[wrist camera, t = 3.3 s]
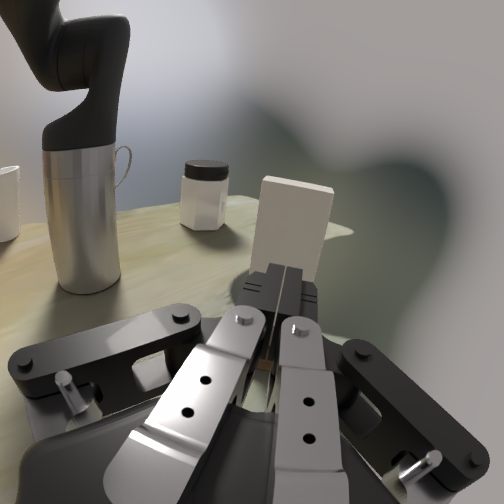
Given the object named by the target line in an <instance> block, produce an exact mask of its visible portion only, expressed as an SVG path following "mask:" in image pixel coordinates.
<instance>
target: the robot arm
mask: <svg viewBox="0 0 504 504" xmlns="http://www.w3.org/2000/svg"><path fill="white" fill-rule="evenodd" d="M59 1H60V0H0V16H1V17H2V19H3V21H4V23H5V24H6V25H7V27H8V29H9V30H10V32H11V34H12V35H13V37H14V38H15V40H16V42H17V44H18V46H19V48H20V50H21V52H22V53H23V55H24V57H25V59H26V61H27V63H28V65H29V66H30V68H31V70H32V72H33V74H34V75H35V77H36V78H37V80H38V81H39V83H40V84H41V85H42V86H43V87H44V88H46V89H47V90H49V91H55V92H61V91H68V90H77V89H86V88H89V92H88V94H87V96H86V98H85V99H84V101H83V102H82V103H81V104H80V105H78V106H77V107H76V108H75V109H73V110H72V111H71V112H69V113H68V114H67V115H64V116H63V117H61V118H59V119H57V120H55V121H53V122H51V123H50V124H48V125H47V126H46V127H45V128H44V131H43V135H42V149H43V151H42V162H43V180H44V194H45V204H46V214H47V221H48V228H49V235H50V241H51V247H52V252H53V258H54V263H55V267H56V272H57V276H58V280H59V284H60V286H61V287H62V288H63V289H64V290H66V291H68V292H70V293H75V294H90V293H95V292H99V291H102V290H104V289H106V288H108V287H110V286H111V285H113V284H114V283H115V282H116V281H117V280H118V278H119V276H120V263H119V253H118V240H117V226H116V207H115V141H116V124H117V113H118V103H119V94H120V88H121V82H122V77H123V71H124V67H125V63H126V58H127V53H128V48H129V41H130V25H129V21H128V20H127V18H126V17H125V16H124V15H121V14H110V15H101V16H92V17H85V18H79V19H74V20H67V19H65V18H63V16H62V15H61V12H60V10H59ZM284 270H285V266H284V265H279V264H274V263H269V265H268V268H267V271H266V273H262V272H257V271H255V272H253V273H252V274H250V275H249V276H248V277H247V280H246V282H245V284H244V287H243V289H242V291H241V293H240V296H239V298H238V300H237V302H236V305H235V306H234V307H231V308H229V309H228V310H227V311H226V312H225V314H224V316H223V317H218V318H201V313H200V311H199V310H198V309H197V308H195V307H194V306H191V305H188V304H182V303H178V304H172V305H169V306H165V307H162V308H159V309H156V310H152V311H149V312H146V313H143V314H139V315H136V316H133V317H129V318H126V319H123V320H119V321H116V322H113V323H109V324H106V325H103V326H99V327H96V328H92V329H89V330H85V331H82V332H78V333H75V334H71V335H68V336H64V337H60V338H57V339H53V340H50V341H46V342H42V343H39V344H35V345H31V346H27V347H24V348H21V349H19V350H17V351H16V352H14V353H13V354H12V356H11V357H10V359H9V361H8V371H9V373H10V375H11V377H12V378H13V380H14V381H15V383H16V385H17V386H18V388H19V391H20V392H21V394H22V395H23V397H24V399H25V404H26V409H27V413H28V418H29V422H30V426H31V430H32V434H33V438H34V442H35V443H34V444H33V445H32V446H31V447H29V449H28V450H27V451H26V452H25V454H24V455H23V457H22V460H21V462H20V467H19V485H18V493H17V499H16V503H15V504H449V502H450V501H451V500H452V499H453V497H454V496H455V495H456V494H457V493H458V492H460V491H461V490H463V489H465V488H466V487H468V486H469V485H471V484H472V483H474V482H475V481H476V480H478V479H480V478H481V477H482V476H484V475H485V473H486V472H487V470H488V468H489V464H490V458H489V454H488V452H487V450H486V448H485V447H484V446H483V445H482V444H481V443H480V442H479V441H478V440H477V439H476V438H474V437H473V436H472V435H471V434H470V433H469V432H468V431H467V430H466V429H465V428H464V427H463V426H462V425H460V424H459V423H458V422H457V421H456V420H455V419H454V418H453V417H452V416H451V415H450V414H449V413H447V411H445V410H444V409H443V408H442V407H441V406H440V405H439V404H438V403H437V402H436V401H434V400H433V399H432V398H431V397H430V396H429V395H428V394H427V393H426V392H424V391H423V390H422V389H421V388H420V387H419V386H418V385H417V384H416V383H415V382H414V381H413V380H411V379H410V378H409V377H408V376H407V375H406V374H405V373H404V372H403V371H401V370H400V369H399V368H398V367H397V366H396V365H395V364H394V363H393V362H392V361H390V360H389V359H388V358H387V357H386V356H385V355H384V354H383V353H382V352H380V351H379V350H378V349H377V348H376V347H375V346H373V345H372V344H370V343H369V342H367V341H364V340H360V339H351V340H348V341H346V342H345V343H344V344H343V346H341V345H339V344H336V343H334V342H332V341H330V340H328V339H326V338H325V337H324V336H323V335H322V332H321V328H320V327H319V325H318V324H317V288H316V287H315V285H314V284H313V282H309V281H304V280H302V275H303V269H300V268H294V267H289V266H287V268H286V273H285V278H284V283H283V287H282V292H281V297H280V302H279V307H278V312H277V316H276V321H275V326H274V331H273V335H272V340H271V344H270V349H269V354H268V358H267V360H269V361H272V365H271V370H270V373H269V377H268V386H267V395H266V404H265V412H259V413H256V412H250V411H248V410H246V409H243V408H242V406H243V403H244V401H245V398H246V396H247V393H248V391H249V388H250V385H251V383H252V380H253V378H254V375H255V370H256V369H257V367H258V365H259V361H260V359H263V360H265V359H266V355H267V350H268V346H269V341H270V337H271V332H272V328H273V323H274V319H275V314H276V309H277V305H278V300H279V295H280V290H281V285H282V280H283V275H284ZM162 350H164V354H161V355H159V356H156V357H153V358H151V359H148V360H145V361H142V362H139V363H137V364H134V362H135V361H136V360H138V359H140V358H143V357H145V356H148V355H151V354H154V353H156V352H159V351H162ZM133 364H134V365H133ZM361 392H362V393H363V394H364V395H365V396H366V397H367V398H368V399H369V400H370V401H371V402H372V403H373V404H374V405H375V406H376V407H377V408H378V409H379V411H380V412H381V415H382V417H381V416H380V415H379V414H378V413H377V412H376V411H375V410H374V409H373V408H372V407H371V406H370V405H369V404H368V403H367V402H366V401H365V400H364V399H363V398H362V397H361V396H360V394H361ZM161 394H163V396H162V397H160V398H155V399H152V400H149V399H151V398H154V397H156V396H159V395H161ZM146 400H148V401H146ZM144 401H146V402H144ZM141 402H143V403H141ZM139 403H141V404H139ZM136 404H139V405H136ZM133 405H136V406H134V407H132V408H129V409H127V410H124V411H122V412H119V413H117V414H114V415H112V416H109V417H107V418H104V419H102V417H103V416H106V415H108V414H111V413H114V412H117V411H120V410H123V409H125V408H128V407H131V406H133ZM339 430H340V431H341V432H342V433H343V434H344V436H345V437H346V438H347V439H348V440H349V441H350V443H351V444H352V445H353V446H354V447H355V448H356V449H357V450H358V452H359V453H360V454H361V455H362V456H363V457H364V458H365V459H366V461H367V462H368V463H369V464H370V465H371V466H372V467H373V468H374V469H375V470H376V472H377V473H378V474H379V475H380V476H381V477H382V480H380V479H379V478H378V477H377V476H376V475H375V473H374V472H373V471H372V470H371V469H370V467H369V466H368V465H367V464H366V462H365V461H364V460H363V459H362V458H361V456H360V455H359V454H358V453H357V451H356V450H355V449H354V448H353V447H352V445H351V444H350V443H349V442H348V441H347V440H346V439H344V438H343V437H342V436H340V431H339Z"/></svg>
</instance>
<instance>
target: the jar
mask: <svg viewBox="0 0 504 504" xmlns="http://www.w3.org/2000/svg"><path fill="white" fill-rule="evenodd" d="M228 168H229V166H228V164H226V163H223V162H218V161H210V160H192V161H187V162H186V163H185V176H183V177H182V186H181V206H180V223H181V224H183V225H184V226H186V227H188V228H190V229H192V230H194V231H205V230H218V229H219V228H220V227H221V226H222V225H223V224H224V222H225V212H226V202H227V193H228V182H229V178H228V171H229V170H228Z"/></svg>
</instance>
